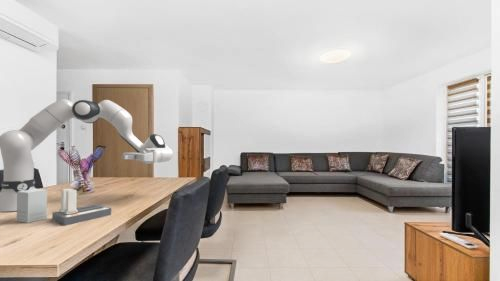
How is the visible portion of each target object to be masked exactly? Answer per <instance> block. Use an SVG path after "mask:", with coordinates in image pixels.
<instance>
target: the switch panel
mask: <svg viewBox="0 0 500 281" xmlns="http://www.w3.org/2000/svg"><path fill="white" fill-rule="evenodd" d="M76 210H78V212H77V213H72V214H64V212H60V210H59V211H55V212H52V218H51V219H52V220H53V221H54V222H56V223H58V224H60V225H62V226H69V225H73V224H77V223H81V222H86V221H91V220H94V219H95V220H96V219H99V218H104V217H108V216H111V215H112V207H108V206H104V205H101V204H98V203H95V204H92V205H86V206H80V207H76ZM52 220H51V221H52Z"/></svg>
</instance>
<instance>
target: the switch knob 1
mask: <svg viewBox="0 0 500 281" xmlns="http://www.w3.org/2000/svg"><path fill="white" fill-rule="evenodd" d="M69 190H73V189H72V188H63V189H61V194H60V195H61V198H60V199H61V201H60V209H59V211H60V212H64V211H66V191H69Z"/></svg>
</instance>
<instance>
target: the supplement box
mask: <svg viewBox="0 0 500 281" xmlns="http://www.w3.org/2000/svg"><path fill="white" fill-rule="evenodd" d="M47 204H48V189H43V188H42V189H40V188H37V189H31V190H25V191H19V192H17V211H16V222H18V223H19V222H20V223H26V224H28V223H29V224H30V223H33V222H37V221H40V220H43V219H44V220H45V219H47V216H48V215H47V213H48V210H47V207H48V205H47Z"/></svg>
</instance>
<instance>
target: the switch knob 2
mask: <svg viewBox="0 0 500 281" xmlns="http://www.w3.org/2000/svg"><path fill="white" fill-rule="evenodd" d="M77 192H78V191H77V190H76V189H72V190H69V191H66V211H64V214H72V213H77V212H78V210H76V208H77V199H78V198H77V197H78V195H77Z"/></svg>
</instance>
